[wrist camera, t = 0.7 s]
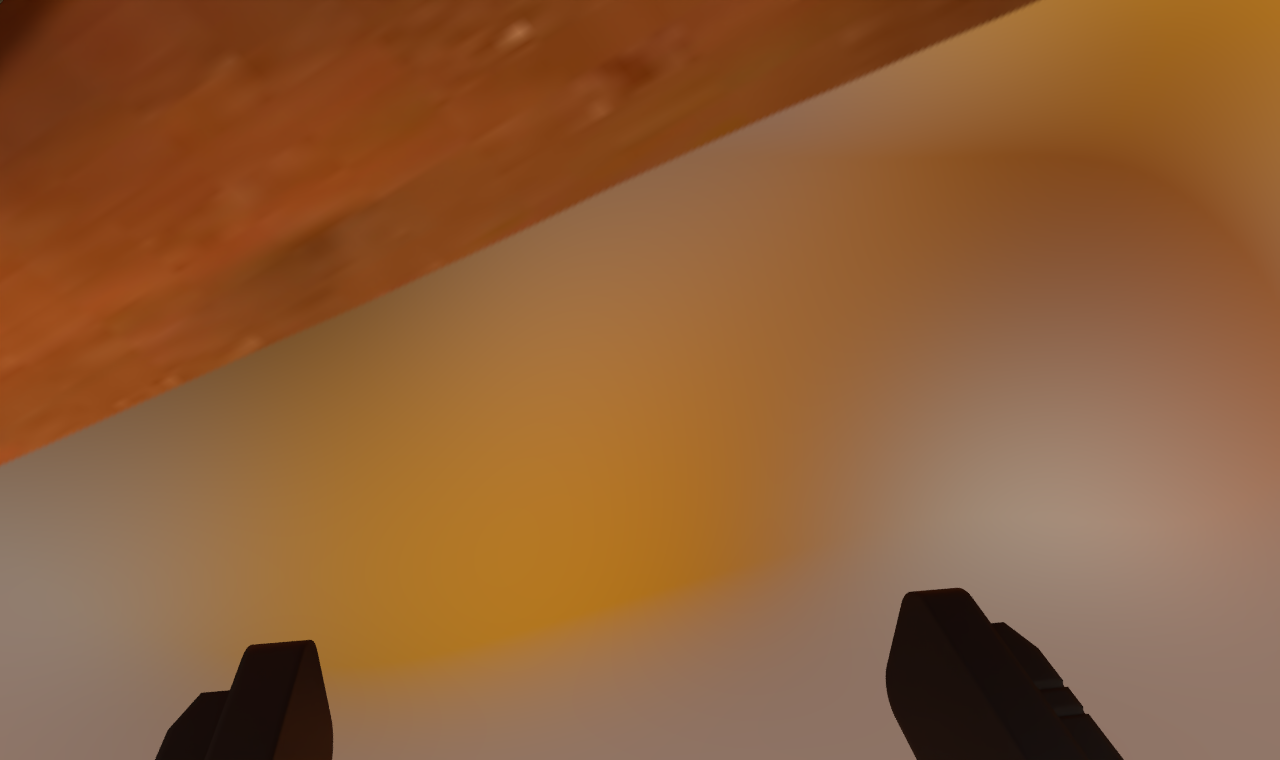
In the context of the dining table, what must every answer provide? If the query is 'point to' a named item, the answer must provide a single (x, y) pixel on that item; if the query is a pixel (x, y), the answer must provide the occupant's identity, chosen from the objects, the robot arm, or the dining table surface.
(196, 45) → the dining table surface
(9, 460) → the dining table surface
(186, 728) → the robot arm
